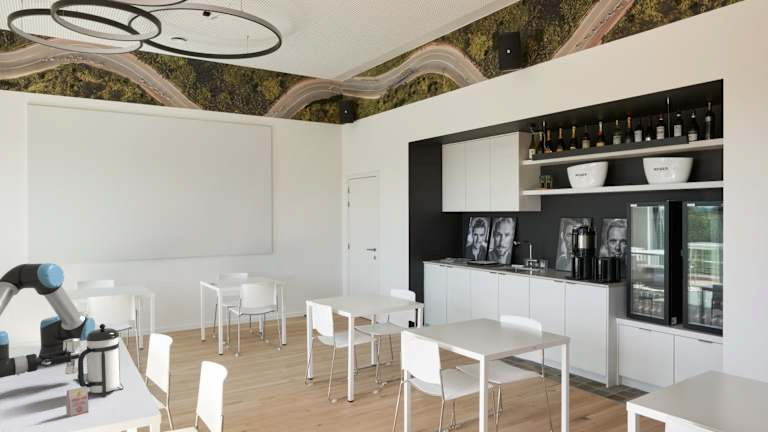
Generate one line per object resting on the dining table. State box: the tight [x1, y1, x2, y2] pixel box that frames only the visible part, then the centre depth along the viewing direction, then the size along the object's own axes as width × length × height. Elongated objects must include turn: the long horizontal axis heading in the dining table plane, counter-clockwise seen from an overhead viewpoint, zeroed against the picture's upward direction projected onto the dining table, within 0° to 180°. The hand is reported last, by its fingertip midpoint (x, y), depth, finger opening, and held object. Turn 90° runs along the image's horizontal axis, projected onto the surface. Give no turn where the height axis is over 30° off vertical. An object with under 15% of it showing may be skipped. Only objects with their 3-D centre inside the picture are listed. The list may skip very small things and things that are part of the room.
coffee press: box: [77, 323, 124, 398], centre depth 227 cm, size 17×16×30 cm
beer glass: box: [63, 338, 81, 375], centre depth 242 cm, size 7×7×15 cm
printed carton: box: [65, 386, 90, 418], centre depth 205 cm, size 4×7×10 cm, turn 134°
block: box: [77, 372, 88, 384], centre depth 247 cm, size 2×9×8 cm
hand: (84, 352), depth 245 cm, fingers closed on beer glass, 7 cm apart
